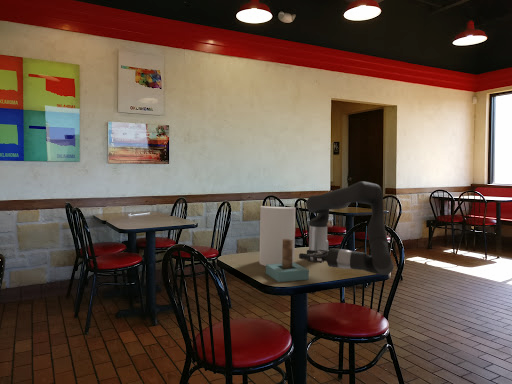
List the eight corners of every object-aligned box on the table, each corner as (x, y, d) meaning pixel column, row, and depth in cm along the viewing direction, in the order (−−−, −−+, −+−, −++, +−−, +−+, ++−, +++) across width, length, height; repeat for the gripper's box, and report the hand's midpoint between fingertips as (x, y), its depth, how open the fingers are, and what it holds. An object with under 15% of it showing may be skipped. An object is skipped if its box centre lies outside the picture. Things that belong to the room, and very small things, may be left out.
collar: (294, 271, 180) (294, 262, 180) (308, 279, 167) (308, 270, 167) (265, 273, 176) (265, 264, 175) (278, 281, 162) (278, 272, 162)
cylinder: (292, 268, 186) (293, 209, 185) (256, 265, 189) (257, 207, 188) (295, 260, 203) (297, 206, 201) (262, 258, 206) (263, 204, 205)
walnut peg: (289, 274, 174) (290, 238, 173) (293, 277, 170) (294, 240, 169) (280, 275, 173) (281, 239, 172) (284, 278, 169) (285, 240, 168)
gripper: (346, 246, 166) (309, 242, 173) (335, 252, 153) (296, 247, 161) (345, 264, 166) (309, 259, 174) (335, 271, 153) (296, 266, 161)
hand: (303, 254), depth 167 cm, fingers open, 8 cm apart
